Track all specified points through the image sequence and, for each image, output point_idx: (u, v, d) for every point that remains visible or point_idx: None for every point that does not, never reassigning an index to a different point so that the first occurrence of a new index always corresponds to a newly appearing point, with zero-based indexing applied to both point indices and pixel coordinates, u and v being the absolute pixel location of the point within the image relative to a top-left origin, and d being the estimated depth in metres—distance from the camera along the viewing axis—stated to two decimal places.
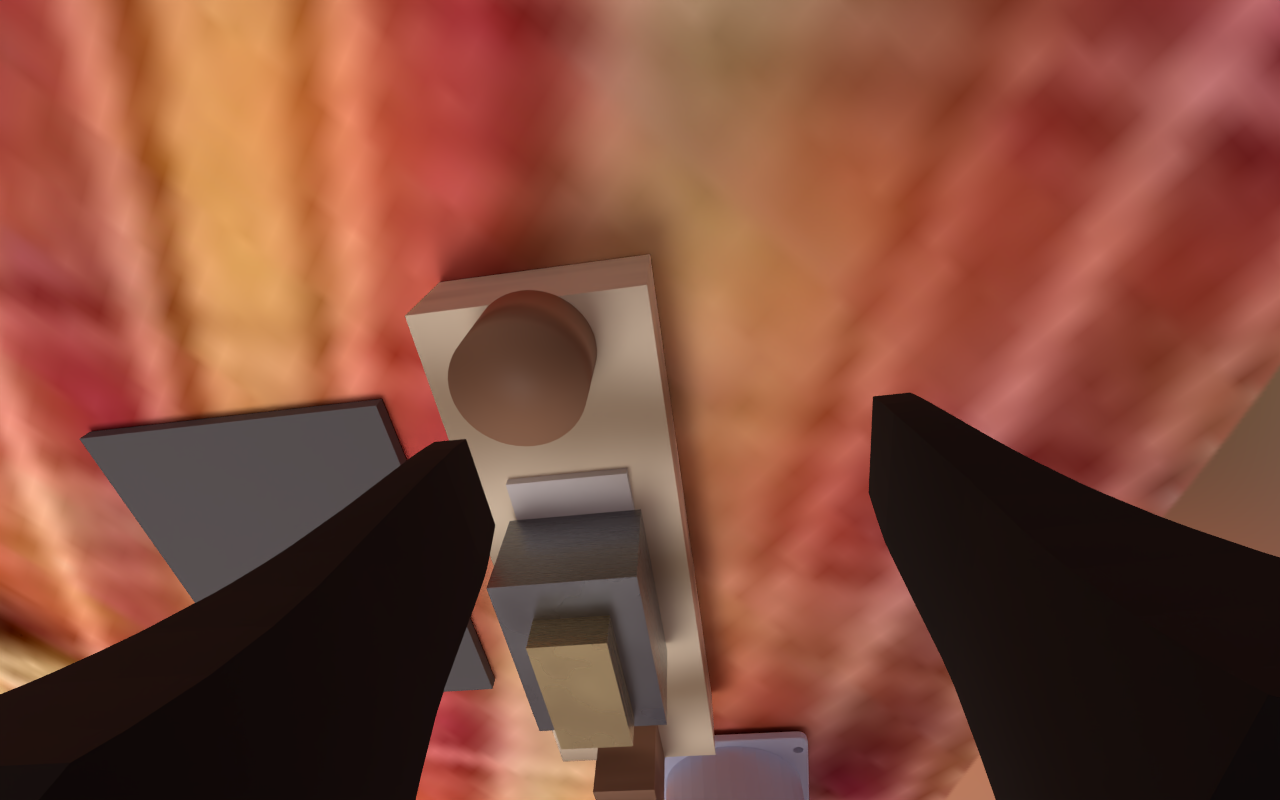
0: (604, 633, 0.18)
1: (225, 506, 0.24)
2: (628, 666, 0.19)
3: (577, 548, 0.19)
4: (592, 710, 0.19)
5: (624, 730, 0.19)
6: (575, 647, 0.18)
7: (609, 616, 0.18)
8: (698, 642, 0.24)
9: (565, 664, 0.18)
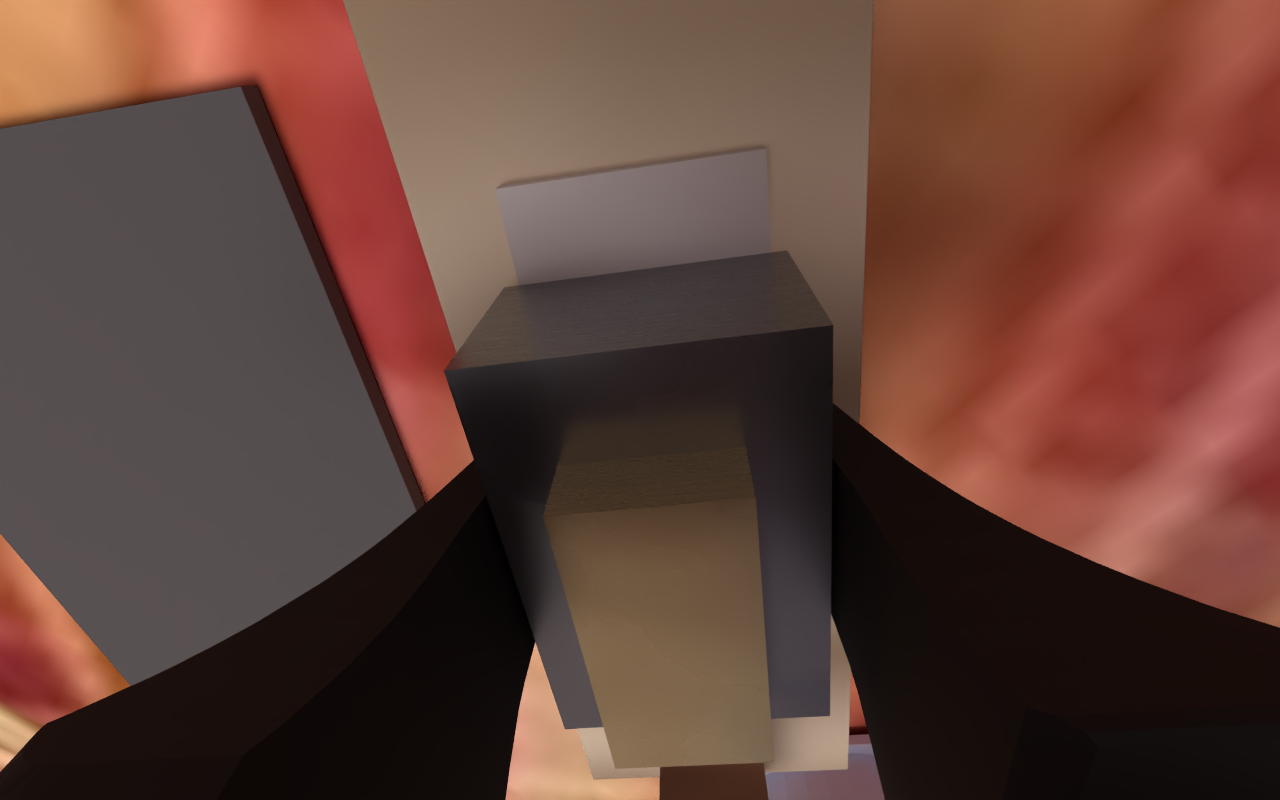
0: (743, 479, 0.07)
1: None
2: (770, 583, 0.09)
3: (660, 302, 0.08)
4: (694, 681, 0.08)
5: (759, 728, 0.09)
6: (670, 510, 0.07)
7: (745, 449, 0.08)
8: None
9: (641, 562, 0.07)
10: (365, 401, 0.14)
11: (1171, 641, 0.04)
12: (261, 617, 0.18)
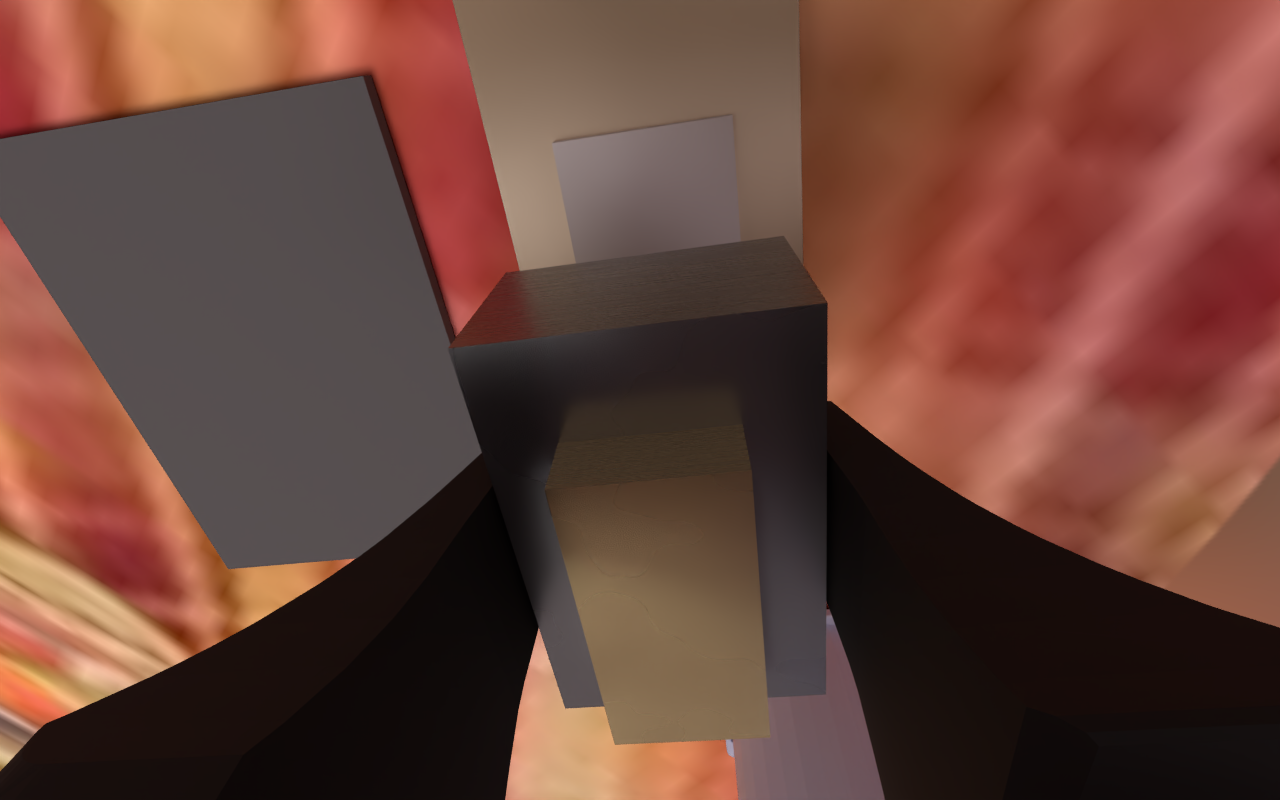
0: (739, 454, 0.07)
1: (161, 260, 0.18)
2: (767, 561, 0.09)
3: (659, 284, 0.08)
4: (692, 655, 0.08)
5: (756, 702, 0.09)
6: (668, 483, 0.07)
7: (742, 426, 0.08)
8: None
9: (640, 535, 0.07)
10: (437, 317, 0.19)
11: (1174, 643, 0.04)
12: (341, 504, 0.23)
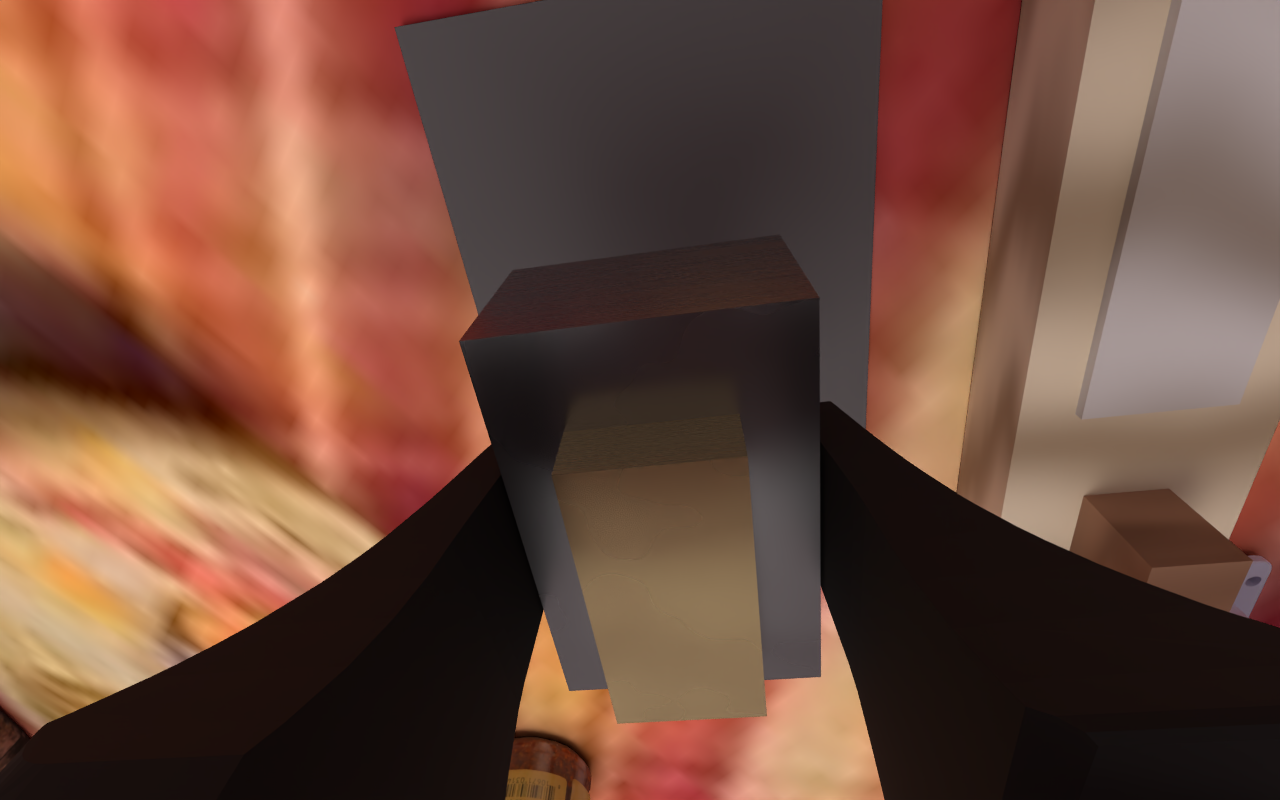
0: (736, 441, 0.08)
1: (582, 160, 0.17)
2: (763, 545, 0.09)
3: (659, 281, 0.09)
4: (691, 635, 0.09)
5: (753, 682, 0.09)
6: (669, 468, 0.07)
7: (739, 416, 0.08)
8: None
9: (642, 518, 0.08)
10: (868, 226, 0.17)
11: (1173, 641, 0.04)
12: None
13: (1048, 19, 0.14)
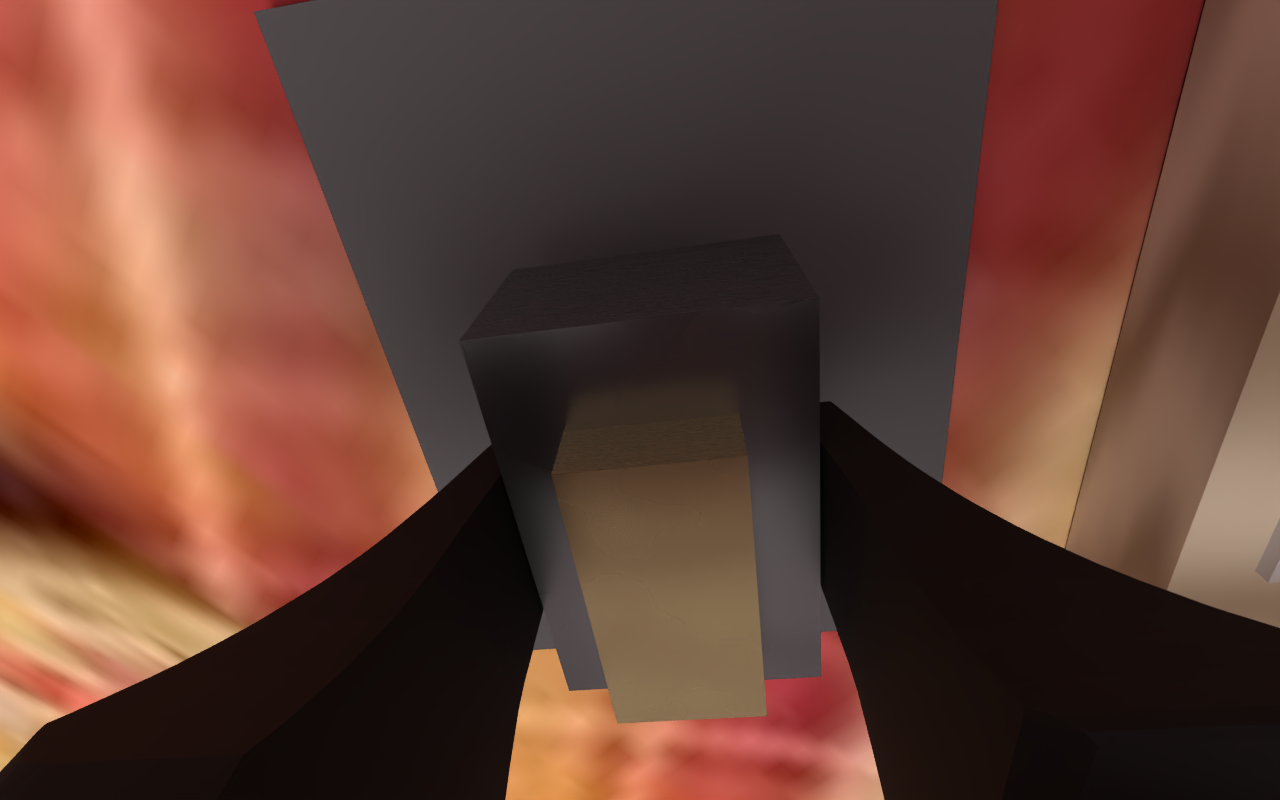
0: (736, 441, 0.08)
1: (544, 207, 0.11)
2: (763, 545, 0.09)
3: (659, 280, 0.09)
4: (691, 635, 0.09)
5: (753, 682, 0.09)
6: (669, 468, 0.07)
7: (738, 415, 0.08)
8: None
9: (642, 518, 0.08)
10: (956, 299, 0.12)
11: (1174, 641, 0.04)
12: None
13: None
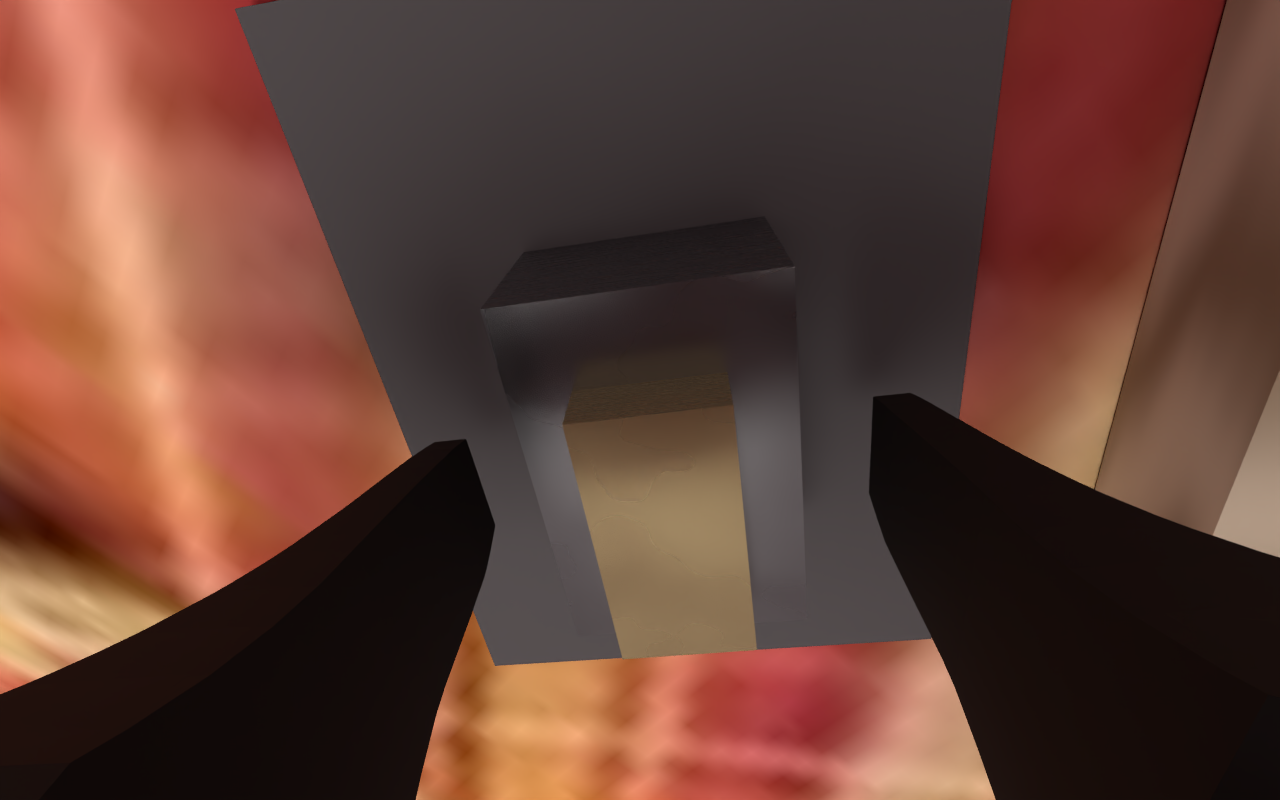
0: (724, 393, 0.09)
1: (538, 212, 0.11)
2: (751, 494, 0.10)
3: (656, 257, 0.10)
4: (687, 573, 0.10)
5: (744, 617, 0.10)
6: (665, 417, 0.08)
7: (727, 374, 0.09)
8: None
9: (642, 463, 0.09)
10: (965, 307, 0.12)
11: None
12: None
13: None
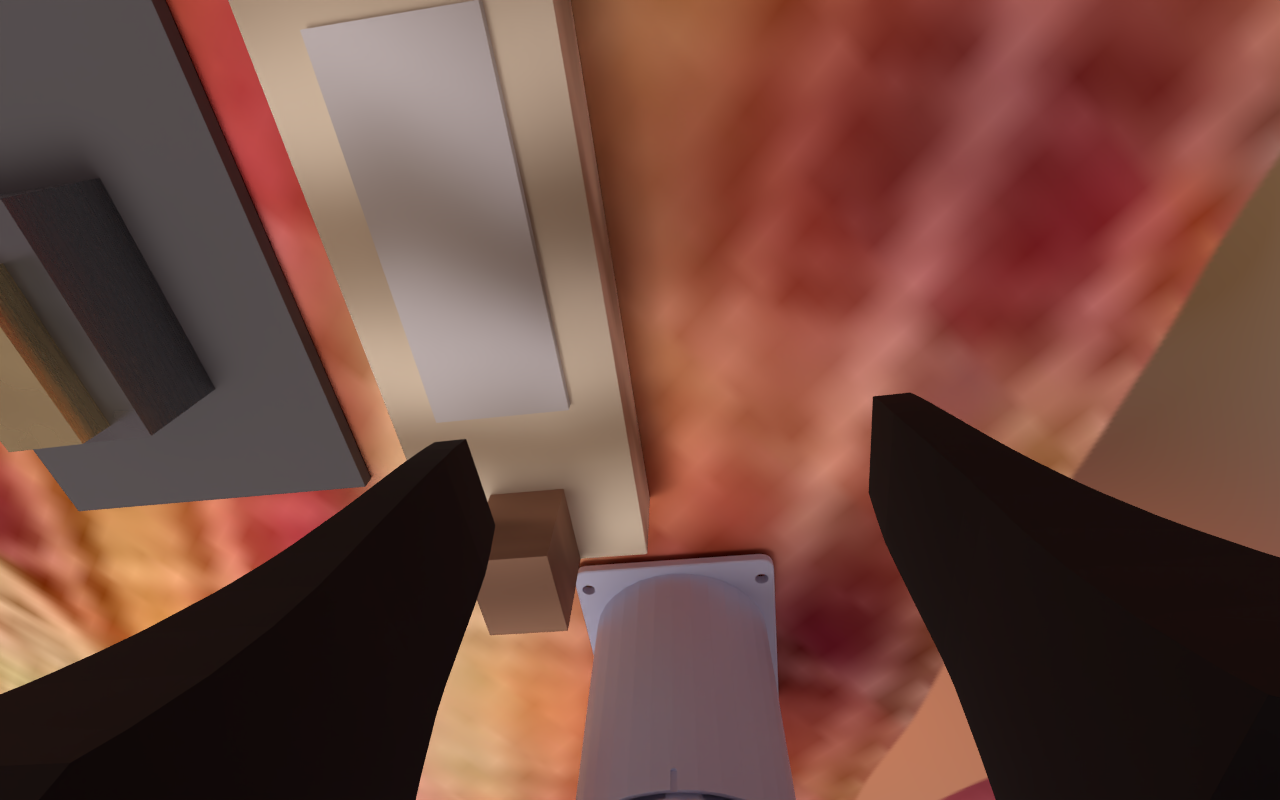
0: None
1: None
2: (64, 345, 0.17)
3: None
4: (8, 387, 0.16)
5: (60, 419, 0.17)
6: None
7: (3, 264, 0.16)
8: (612, 355, 0.17)
9: None
10: (252, 238, 0.18)
11: None
12: (183, 442, 0.22)
13: None
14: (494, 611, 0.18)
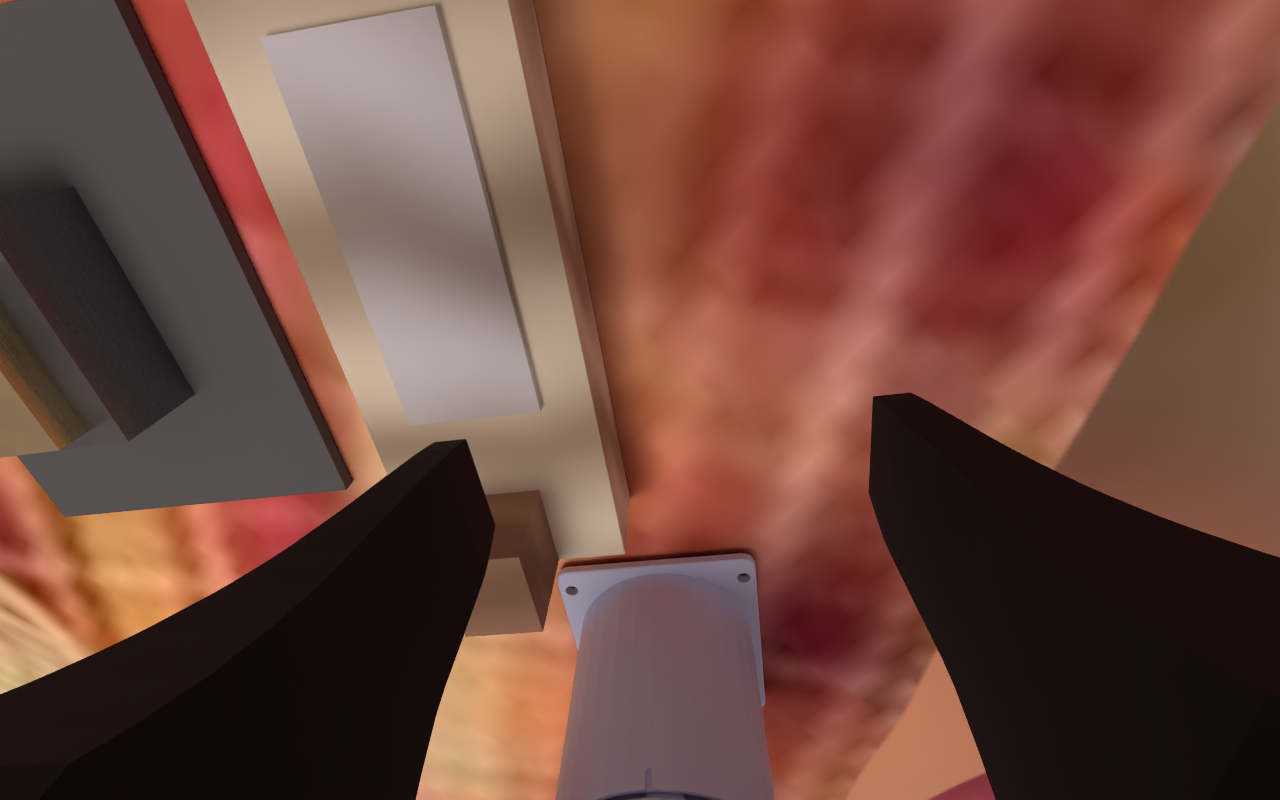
0: None
1: None
2: (39, 352, 0.17)
3: None
4: None
5: (36, 426, 0.17)
6: None
7: None
8: (582, 356, 0.17)
9: None
10: (226, 244, 0.18)
11: None
12: (165, 447, 0.22)
13: None
14: None
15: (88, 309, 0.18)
